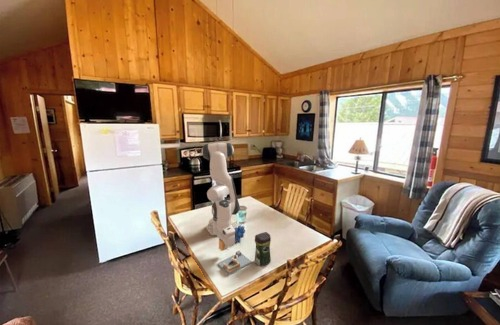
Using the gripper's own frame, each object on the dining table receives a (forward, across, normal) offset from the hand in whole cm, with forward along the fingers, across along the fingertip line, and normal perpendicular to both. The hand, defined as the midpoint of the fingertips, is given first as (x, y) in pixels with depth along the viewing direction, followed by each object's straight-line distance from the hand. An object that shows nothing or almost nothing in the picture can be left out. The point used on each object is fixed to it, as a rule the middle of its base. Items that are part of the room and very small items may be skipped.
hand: (223, 245), depth 135 cm
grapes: (+8, -9, +17) cm, 21 cm away
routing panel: (+6, +11, +2) cm, 13 cm away
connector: (+2, 0, 0) cm, 2 cm away
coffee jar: (+6, +20, +16) cm, 27 cm away
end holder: (+5, +14, -2) cm, 15 cm away
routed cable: (+6, +9, +3) cm, 11 cm away
